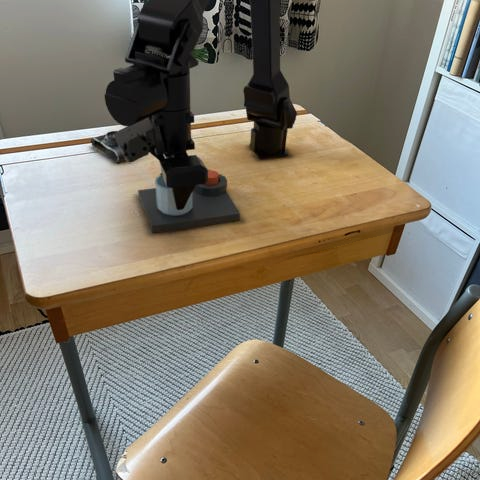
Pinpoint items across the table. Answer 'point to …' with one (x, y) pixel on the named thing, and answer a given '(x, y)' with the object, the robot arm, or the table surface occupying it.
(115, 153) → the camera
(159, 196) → the cup
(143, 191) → the grey base plate
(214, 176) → the button
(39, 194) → the table surface
